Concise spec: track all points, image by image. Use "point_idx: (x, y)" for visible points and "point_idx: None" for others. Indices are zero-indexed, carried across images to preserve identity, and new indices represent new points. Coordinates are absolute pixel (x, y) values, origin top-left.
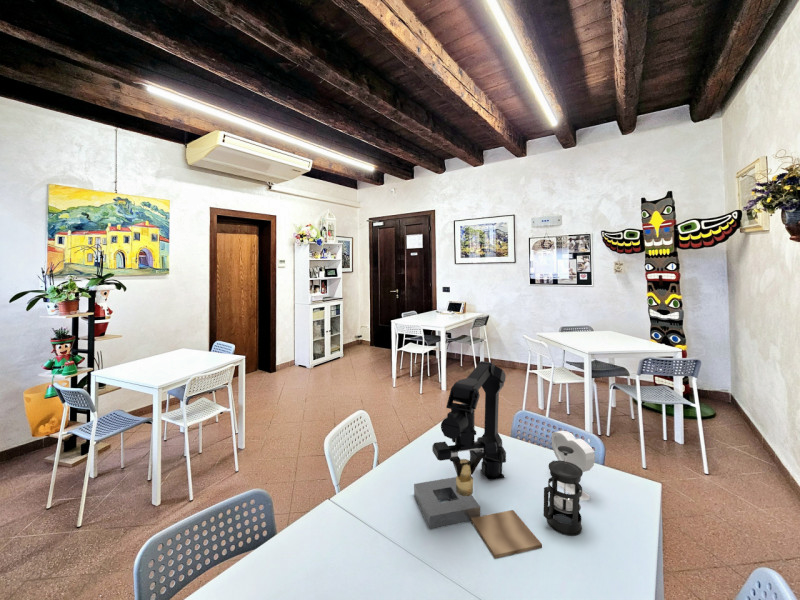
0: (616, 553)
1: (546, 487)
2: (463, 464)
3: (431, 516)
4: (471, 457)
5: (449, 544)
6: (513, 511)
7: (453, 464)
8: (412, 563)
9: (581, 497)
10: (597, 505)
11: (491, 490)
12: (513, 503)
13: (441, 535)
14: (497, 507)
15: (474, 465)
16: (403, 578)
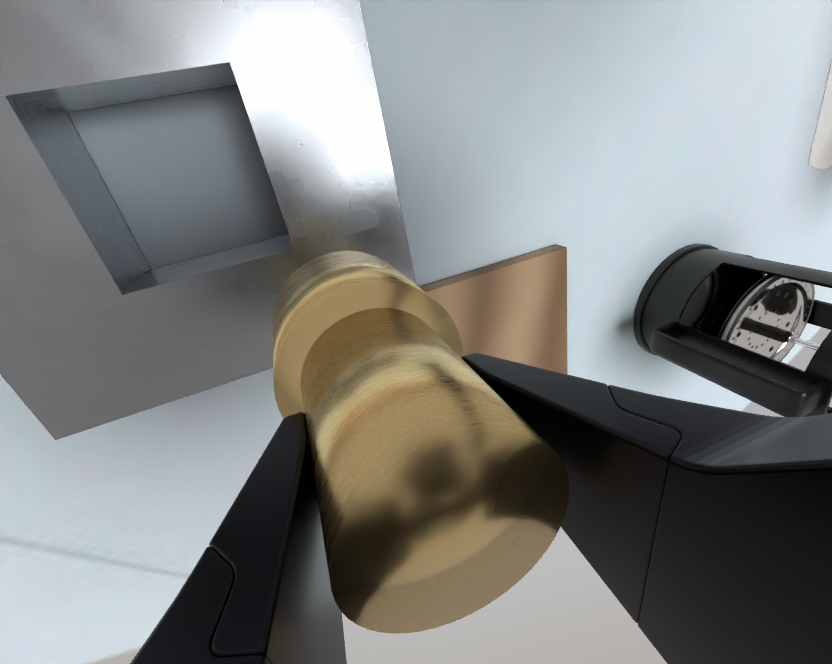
0: (706, 398)
1: (811, 396)
2: (422, 599)
3: (73, 432)
4: (653, 510)
5: (223, 457)
6: (563, 258)
7: (212, 538)
8: (38, 579)
9: (826, 154)
10: (825, 203)
11: (537, 22)
12: (589, 172)
13: (178, 416)
14: (507, 201)
15: (578, 538)
16: (13, 641)
